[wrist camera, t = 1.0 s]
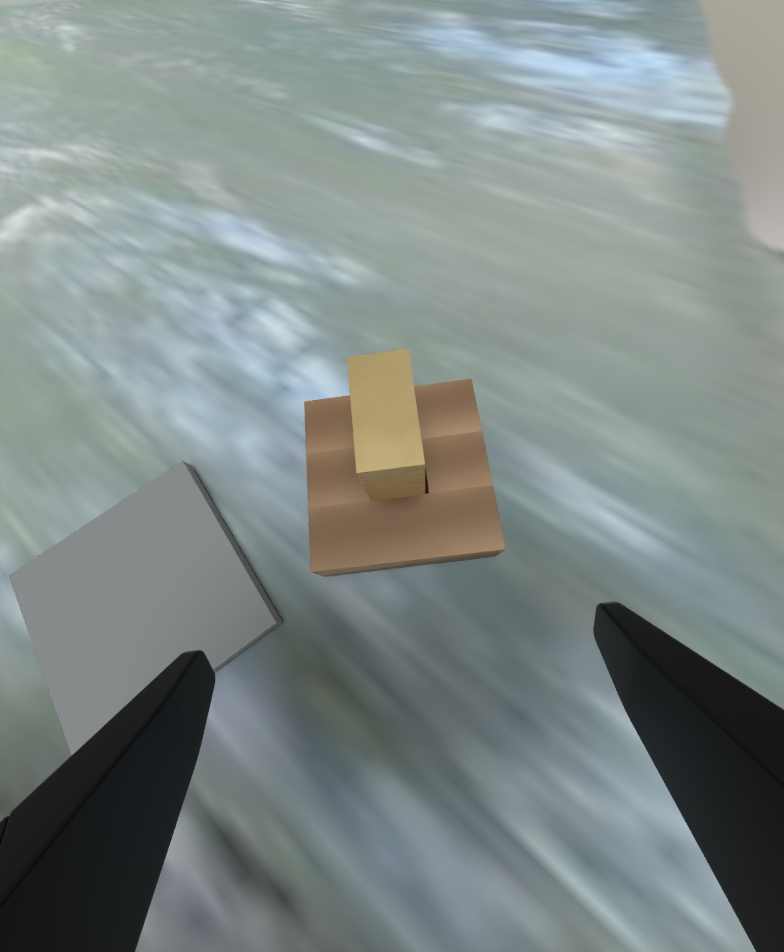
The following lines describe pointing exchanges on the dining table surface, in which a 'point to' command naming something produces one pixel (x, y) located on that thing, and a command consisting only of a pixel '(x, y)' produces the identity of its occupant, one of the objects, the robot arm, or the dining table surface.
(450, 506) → the slot block
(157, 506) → the mat
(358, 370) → the t key
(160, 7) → the dining table surface
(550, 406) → the dining table surface
